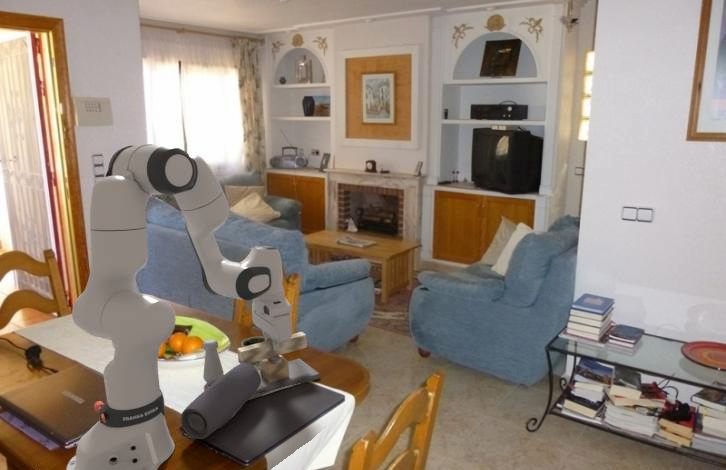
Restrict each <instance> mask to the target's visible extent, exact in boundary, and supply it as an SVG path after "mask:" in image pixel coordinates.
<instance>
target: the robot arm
mask: <svg viewBox="0 0 726 470" xmlns="http://www.w3.org/2000/svg"><path fill="white" fill-rule="evenodd" d="M214 173H215V172H213V171H212V169H211V167H210V166H209V165H208V163H207V162H206V161H205V160H204V158H203V157H201V156H199V155H196V154H189V153H188V152H186V151H185V150H183V149H181V148H179V147H177V146H173V145H157V144H149V143H148V144H139V145H127V146H125V147H122V148H119V149H118V150H117V151H116V152H115V153H114V154H113V155H112V156H111V158H110V160H109V163H108V167H107V171H106V174H105V177H102V178H100V179H98V181H97V182H96V183H94V185H93V188H92V191H91V192H92V193H91V198H90V207H89V209H90V211H89V229H90V251H91V253H90V254H91V255H90V257H91V261H90V271H89V276H88V280H87V282H86V285H85V288H84V290H83V292H82V293H81V294H80V295H78V297H77V298H76V300H75V301H74V303H73V306H72V311H71V315H72V320H73V322H74V325H75V326H76V327H78V328H79V329H80V330H82V331H84V332H85V333H86V334H89V335H90V336H93V337H95V338H101V339H104V340H108V341H111V342H112V343H113V346H114V354H113V358H112V360H110V361H109V362H108V363H107V364H106V366H105V367H104V370H103V380H104V388H105V395H106V402H105V403H104V402H103V401H101V400H98V401H96V402H95V403H94V405H93V407H94V411H95V413H98V419H99V421H97V422H96V423H95V424H94V425H93V426H92V427H91V428H90V429H89V430H87V431H86V433H85V434H83V435H82V436H81V438H79V441H78V442H77V447H76V451H75V455H74V456H73V457H72V458H70V460H69V461H68V463H67V465H66V469H65V470H158V469H159V467H161V466H160V465H162V464H163V463H164V462H165V461H167V460H168V459H169V458H170V457H171V455H172V454H173V453H174V450H175V443H174V442H175V441H174V440H173V438H172V437H171V434H170V431H169V428H168V425H167V421H166V417H165V415H166V411H165V410H166V406H165V405H166V404H165V397H164V394H163V391H162V389H161V385H160V377H159V364H158V363H159V354H160V351H161V348H162V345H163V344H164V343H166V341H168V339H169V338H170V337H171V335H172V334H173V332H174V330H175V327H176V319H177V318H176V312H175V310H174V307H173V306H172V304H170V303H169V302H167V301H166V300H164V299H162V298H159V297H157V296H155V295H152V294H149V293H148V294H147V293H141V292H136V291H135V287H134V286H135V280H136V277H137V275H138V272H140V271H141V270H143V269H144V268H145V267H146V265H147V263H148V261H149V249H148V248H149V247H148V226H147V224H148V223H147V215H146V214H147V213H146V208H147V203H148V200H149V198H150V197H151V196H161V195H166V196H173V197H174V199H175V202H176V203H177V205H178V207H179V210H180V211H181V213H182V215H183V217H184V220H185V230H186V232H187V236H188V239H189V241H190V244H191V246H192V249H193V251H194V253H195V256H196V258H197V261H198V264H199V267H200V270H201V279H202V284H203V287H204V288H205V290H206V291H207V292H208V293H209V294H211V295H213V296H220V297H221V296H222V297H223V296H224V297H228V298H231V299H236V300H240V301H251V300H252V302H251V303H252V304H251V318H252V322H253V324H254V325H255V326H257V327H258V328H260V330H262V331H261V332H262V336H263V337H264V338H265V341H268V340H273V344H272V349H273V350H274V351H277V350H279V349H280V346H279V344H280V343H283V342H286V341H289V340H290V339H291V337H292V334H293V326H292V325H293V324H292V317H291V314H290V313H292V311H293V307H292V304H290V301H288V298H287V297H286V295H285V288H284V285H283V277H284V275H283V273H284V271H283V270H284V269H283V264H282V263H283V262H282V257H281V253H280V251H279V249H278V248H276V247H275V246H270V245H255V246H252V247H251V249H250V252H249V254H248V255H247V256H246V257H245V258H244V259H242V260H241V261H239V262H237V261H231V260H229V259H227V258H226V257H225V256H223V255H222V253H221V251H220V247H219V245H218V242H217V240H216V237H215V235H214V232H216V231H218V229H220V228H221V227H222V226H223V225H225V223H226V222H227V219H228V218H229V216H230V205H229V202H228V199H227V197H226V194H225V192H224V190H223V188H222V186H221V184H220V181H219V180H218V179H217V177H216V175H215V174H214Z"/></svg>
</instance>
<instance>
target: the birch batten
mask: <svg viewBox="0 0 726 470" xmlns="http://www.w3.org/2000/svg"><path fill="white" fill-rule="evenodd" d="M272 344H273V340H268V341H264V342H260V343H257V344H253V345H249V346H245V347H243V346H242V347H239V348H237V349H236V350H237V359H238V360H237V361H238V363H239V364H241V363H248V364H250V363H253V362H257V361H260V360H264V359H267V358H271V357H274V356H278V355H282V356H283V355H286V354H289V353H291V352H295V351H298V350H303V349H305V348H308V347H307V346H308V345H307V334H305V333H304V332H303V331H299V332H298V331H297V332H296V333H295V332H294V333H292V337H291V339H290V340H289V341H286V342H283V343H280V344H279V346H280V349H279V350H277V351H274V350H273V349H272Z"/></svg>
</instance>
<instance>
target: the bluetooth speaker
mask: <svg viewBox="0 0 726 470" xmlns="http://www.w3.org/2000/svg"><path fill="white" fill-rule="evenodd" d="M260 383H261V377H260V375H259V373H258V370H257V368H256V367H255V365H251V364H248V363H241V364H240V363H239V364H238V365H235V366H234V367H233V368H231V369H230V370H229V371H227V372H226V373H224V375H223V376H222V377H221V378H219V379H218V380H217V381H215V382H214V383H213V384H212V385H208V387H207V388H206V389H204V391H202V392H201V393H200V394H199V395H197V397H196V398H195V399H194V400H193V401H191V402H190V403H189V404H188V405H187V406H186V407H185V409H183V411H182V412H181V415H180V424H181V426H182V429H183V431H184V432H185V433H186V434H187V435H188V436H189V437H191V438H194V439H197V440H203V439H206V438H207V437H209V436H210V435H211V434H213V433H214V432H215V431H216V430H218V429H217V428H219V427H221V426H222V427H224V426H225V425H226V424H227V423H228V422H229V421H230V420H232V418H233V417H234V416H235V415H236V414H237V413H238V412H239V411H240V410H241V409H242V407H243V406H244V405H245V404H246V403H247V402H248V399H249V398H250V397H251V396H252V395H253V394H254V392H255V391H256V390H257V389H258V387H259V386H260ZM239 409H240V410H239ZM238 410H239V411H238ZM237 411H238V412H237ZM236 412H237V413H236ZM235 413H236V414H235ZM234 414H235V415H234ZM233 415H234V416H233ZM232 416H233V417H232ZM231 417H232V418H231ZM228 420H229V421H228ZM226 422H227V423H226ZM225 423H226V424H225ZM224 424H225V425H224ZM223 425H224V426H223ZM222 427H221V428H222ZM219 429H220V428H219Z"/></svg>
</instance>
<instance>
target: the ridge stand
mask: <svg viewBox="0 0 726 470" xmlns="http://www.w3.org/2000/svg"><path fill="white" fill-rule="evenodd" d="M259 363H260V364H259V370H257V371H258V373H259V375H260V377H261V383H260V386H259V387H258V389H257V390H256V393H255V394H257V393H262V392H266V391H271V390H275V389H278V388H281V387H285V386H289V385H294V384H298V383H303V384H306V383H305V382H307V383H310V382H312V381H315V380H319V379H320V378H321V377H320V373H319V372H318V371H317V370H316V369H315V368H313V367H311V366H310V365H309V364H307V363H306V362H305V361H303V360H302V359H301V358H296V359H293V360H288V359H286V358H285V357H284V356H283V354H282V355H278V356H274V357H271V358H267V359H264V360H260V361H259Z"/></svg>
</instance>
